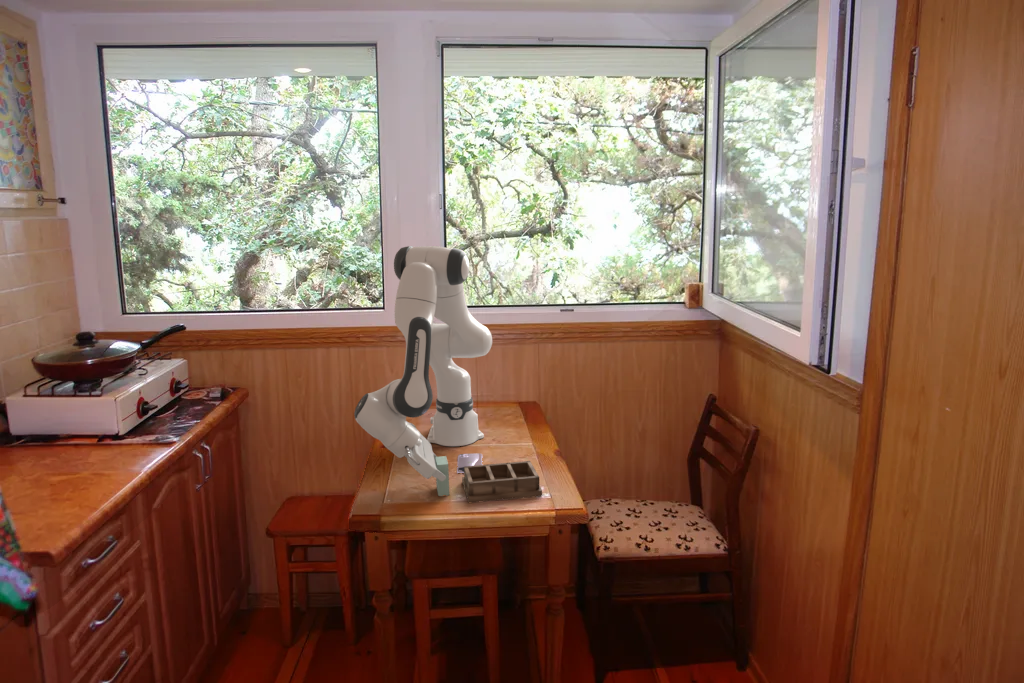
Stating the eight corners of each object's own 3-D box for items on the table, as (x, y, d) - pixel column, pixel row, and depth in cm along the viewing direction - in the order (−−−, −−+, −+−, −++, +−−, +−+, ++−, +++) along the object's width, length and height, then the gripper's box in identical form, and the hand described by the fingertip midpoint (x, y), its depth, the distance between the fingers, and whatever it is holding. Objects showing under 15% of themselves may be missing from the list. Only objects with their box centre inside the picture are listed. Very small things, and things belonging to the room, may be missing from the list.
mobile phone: (456, 472, 208) (458, 453, 223) (456, 475, 209) (458, 456, 223) (482, 471, 209) (482, 452, 223) (482, 474, 209) (482, 455, 224)
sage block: (436, 487, 200) (435, 456, 198) (447, 486, 200) (446, 456, 198) (438, 496, 194) (437, 465, 192) (449, 495, 194) (448, 464, 192)
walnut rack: (462, 481, 203) (461, 465, 202) (531, 475, 206) (531, 459, 205) (468, 502, 189) (468, 485, 188) (542, 495, 193) (542, 478, 192)
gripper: (415, 446, 182) (454, 478, 186) (411, 420, 202) (446, 450, 205) (398, 464, 182) (438, 496, 186) (395, 437, 202) (431, 466, 206)
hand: (442, 472), depth 196 cm, fingers open, 8 cm apart
